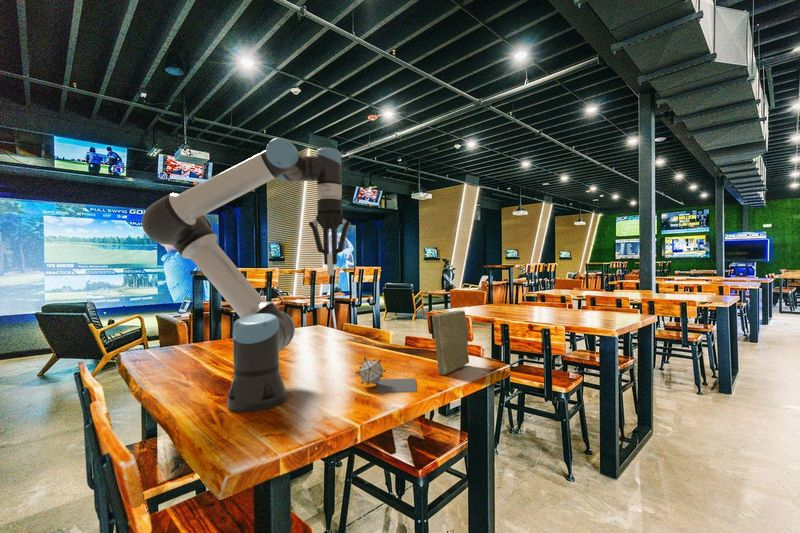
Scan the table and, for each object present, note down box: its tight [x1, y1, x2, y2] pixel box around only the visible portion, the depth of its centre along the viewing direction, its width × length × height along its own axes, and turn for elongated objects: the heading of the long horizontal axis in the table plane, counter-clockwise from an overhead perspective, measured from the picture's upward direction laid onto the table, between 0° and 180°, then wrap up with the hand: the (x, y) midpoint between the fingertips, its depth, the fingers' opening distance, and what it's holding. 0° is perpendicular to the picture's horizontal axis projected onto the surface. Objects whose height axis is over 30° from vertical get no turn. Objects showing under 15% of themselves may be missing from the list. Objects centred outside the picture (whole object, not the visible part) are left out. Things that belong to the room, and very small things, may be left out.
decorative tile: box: [431, 310, 470, 376], centre depth 130 cm, size 19×6×20 cm, turn 143°
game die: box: [355, 356, 386, 387], centre depth 112 cm, size 9×8×10 cm
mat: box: [375, 378, 418, 394], centre depth 112 cm, size 12×12×1 cm
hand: (330, 275), depth 114 cm, fingers closed
